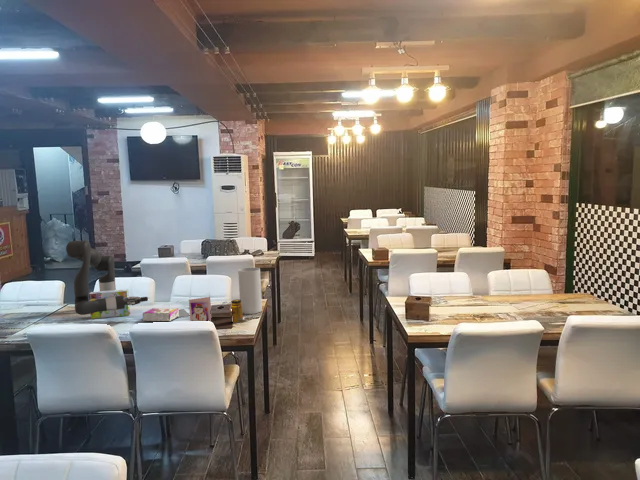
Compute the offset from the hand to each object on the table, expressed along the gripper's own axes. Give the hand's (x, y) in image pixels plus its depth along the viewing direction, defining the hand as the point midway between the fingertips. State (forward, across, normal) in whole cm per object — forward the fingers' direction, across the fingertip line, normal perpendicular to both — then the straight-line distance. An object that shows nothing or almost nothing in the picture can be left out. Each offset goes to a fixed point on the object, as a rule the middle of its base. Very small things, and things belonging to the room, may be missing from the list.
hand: (147, 298), depth 286 cm
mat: (+11, 0, +12) cm, 16 cm away
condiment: (+42, -36, +12) cm, 56 cm away
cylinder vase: (+54, -20, +12) cm, 59 cm away
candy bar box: (-1, -2, +9) cm, 9 cm away
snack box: (-19, +19, +12) cm, 29 cm away
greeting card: (+22, -33, +12) cm, 42 cm away
